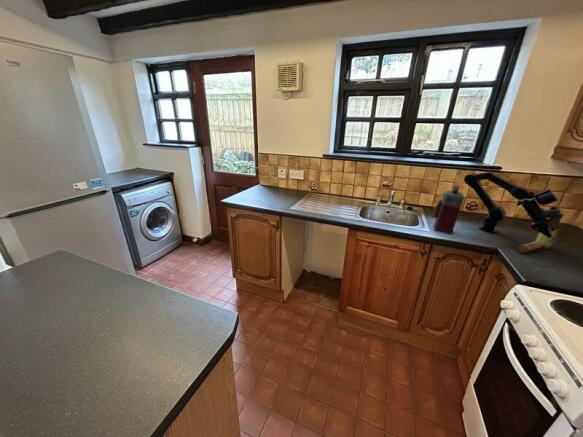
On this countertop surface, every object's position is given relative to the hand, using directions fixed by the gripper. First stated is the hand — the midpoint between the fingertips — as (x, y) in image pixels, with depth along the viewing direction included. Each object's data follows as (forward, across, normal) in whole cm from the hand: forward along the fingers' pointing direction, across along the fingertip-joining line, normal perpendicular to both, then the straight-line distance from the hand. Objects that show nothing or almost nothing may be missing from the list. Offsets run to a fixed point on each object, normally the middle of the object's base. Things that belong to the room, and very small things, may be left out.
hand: (551, 235), depth 128 cm
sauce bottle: (+5, 0, +7) cm, 8 cm away
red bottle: (-26, -23, +37) cm, 51 cm away
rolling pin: (+2, -11, +9) cm, 15 cm away
